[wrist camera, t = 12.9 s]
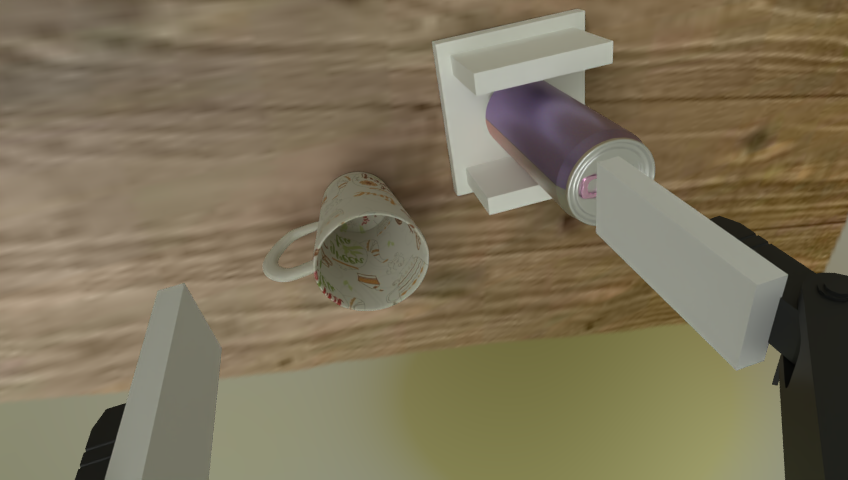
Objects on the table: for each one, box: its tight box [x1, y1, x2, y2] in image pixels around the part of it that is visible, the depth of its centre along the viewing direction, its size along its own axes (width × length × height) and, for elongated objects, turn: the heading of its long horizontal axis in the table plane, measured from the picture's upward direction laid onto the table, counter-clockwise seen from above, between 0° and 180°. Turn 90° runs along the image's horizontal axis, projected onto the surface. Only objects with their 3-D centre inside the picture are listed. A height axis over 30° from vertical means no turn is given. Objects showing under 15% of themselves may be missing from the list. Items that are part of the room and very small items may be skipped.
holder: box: [432, 9, 613, 215], centre depth 41 cm, size 12×13×7 cm
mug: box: [263, 172, 429, 311], centre depth 41 cm, size 8×13×10 cm, turn 108°
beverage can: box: [486, 80, 655, 226], centre depth 37 cm, size 6×6×15 cm
